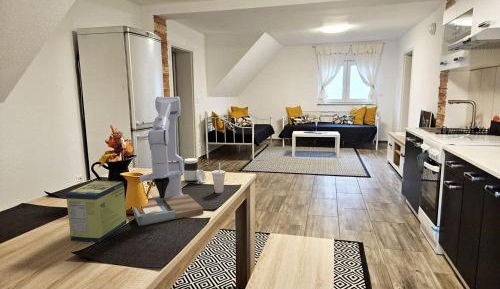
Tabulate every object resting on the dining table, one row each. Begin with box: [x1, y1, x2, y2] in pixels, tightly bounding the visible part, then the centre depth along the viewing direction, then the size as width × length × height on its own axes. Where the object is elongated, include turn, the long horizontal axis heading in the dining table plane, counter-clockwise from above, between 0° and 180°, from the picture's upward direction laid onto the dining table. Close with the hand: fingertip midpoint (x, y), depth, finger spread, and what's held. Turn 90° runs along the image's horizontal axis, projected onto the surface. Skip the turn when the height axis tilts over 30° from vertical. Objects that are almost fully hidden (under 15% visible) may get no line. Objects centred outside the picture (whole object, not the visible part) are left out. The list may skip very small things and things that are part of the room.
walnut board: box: [163, 193, 204, 220], centre depth 126 cm, size 20×10×2 cm, turn 28°
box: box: [133, 196, 176, 227], centre depth 121 cm, size 20×13×3 cm, turn 28°
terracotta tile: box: [141, 200, 158, 213], centre depth 124 cm, size 6×6×2 cm
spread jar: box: [183, 157, 207, 184], centre depth 164 cm, size 12×11×12 cm
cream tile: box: [143, 206, 163, 216], centre depth 116 cm, size 6×6×2 cm
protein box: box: [65, 179, 128, 243], centre depth 104 cm, size 10×16×16 cm
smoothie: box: [211, 162, 226, 194], centre depth 145 cm, size 6×6×14 cm
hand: (162, 197), depth 117 cm, fingers closed
